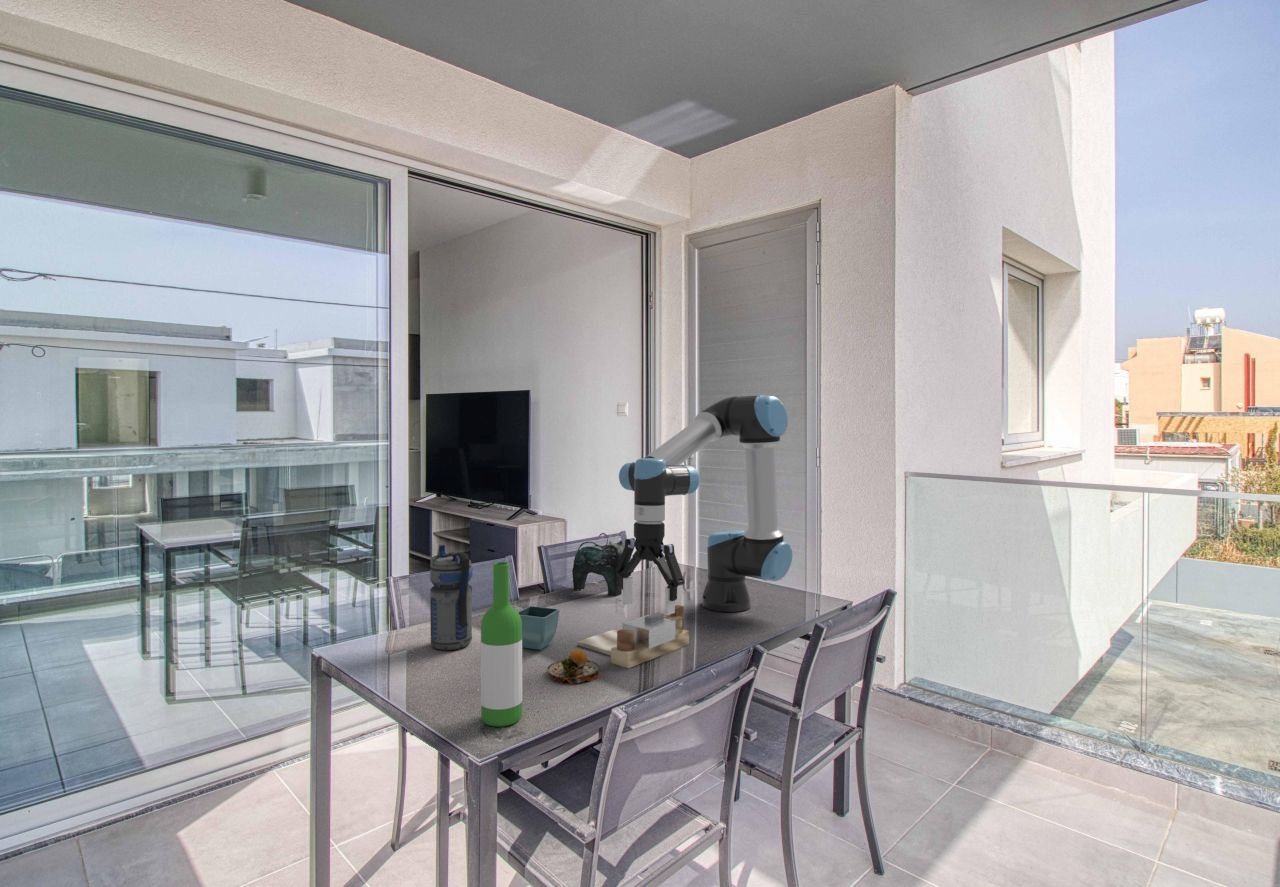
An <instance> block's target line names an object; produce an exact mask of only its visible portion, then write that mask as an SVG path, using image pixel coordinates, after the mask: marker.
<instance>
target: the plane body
mask: <svg viewBox="0 0 1280 887" xmlns="http://www.w3.org/2000/svg"><path fill="white" fill-rule="evenodd" d="M684 612H685V606H684V605H679V604H675V613H673V614H670V615H665V613H663V614H664V618H666V619H670V620H674V621H675V639H674V640H671V641H669V642H666V643H663V644H661V645H658V646H655V647H653V648H650V649H647V648H644V647H640V646H637V645H634V631H633V630H629V629H618V631H617V646H616V647H613V648H611V656H610V657H611V658H610V662H611V663H610V664H613V665H617V666H619V667H622V668H626V669H630V668H632V667H636V666H639V665H640V664H643V663H645V662H648V661H651V660H653V659H656V658H658V657H661V656H663V655H665V654H668V653H671V652H673V651H676V650H679V649H681V648H683V647H686V646H688V645H690V630H687V629H685V627H684V626H685V625H684V624H685V623H684V622H685V620H684V619H685V617H684V616H685V615H684V614H685V613H684Z"/></svg>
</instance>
